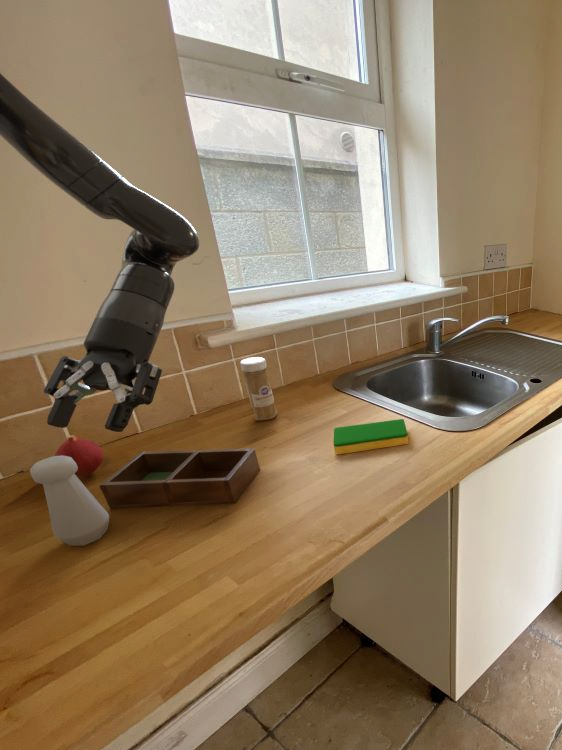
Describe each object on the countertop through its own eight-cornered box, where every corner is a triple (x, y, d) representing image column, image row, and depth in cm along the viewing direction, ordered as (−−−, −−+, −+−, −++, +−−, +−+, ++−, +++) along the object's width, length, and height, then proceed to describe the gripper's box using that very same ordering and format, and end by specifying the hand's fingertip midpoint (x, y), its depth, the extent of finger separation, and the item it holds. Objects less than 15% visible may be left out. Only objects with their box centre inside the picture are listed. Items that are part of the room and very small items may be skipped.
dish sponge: (408, 444, 91) (407, 434, 90) (335, 455, 86) (333, 444, 85) (404, 428, 97) (403, 418, 96) (335, 437, 92) (334, 427, 91)
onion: (57, 480, 76) (36, 440, 73) (96, 463, 81) (78, 424, 78) (79, 488, 75) (59, 447, 71) (118, 470, 80) (101, 431, 76)
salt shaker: (69, 529, 66) (30, 454, 60) (119, 518, 68) (86, 445, 63) (53, 556, 61) (9, 477, 56) (107, 543, 64) (70, 467, 58)
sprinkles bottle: (266, 423, 97) (251, 365, 91) (249, 419, 98) (234, 361, 92) (282, 414, 101) (269, 357, 95) (266, 410, 102) (253, 354, 96)
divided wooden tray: (109, 509, 70) (98, 485, 68) (149, 473, 79) (140, 451, 77) (235, 503, 73) (228, 480, 71) (260, 469, 81) (254, 448, 79)
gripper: (59, 312, 66) (7, 417, 60) (151, 318, 65) (108, 424, 60) (106, 336, 73) (63, 432, 67) (190, 341, 72) (154, 438, 67)
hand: (84, 428), depth 64 cm, fingers open, 8 cm apart
